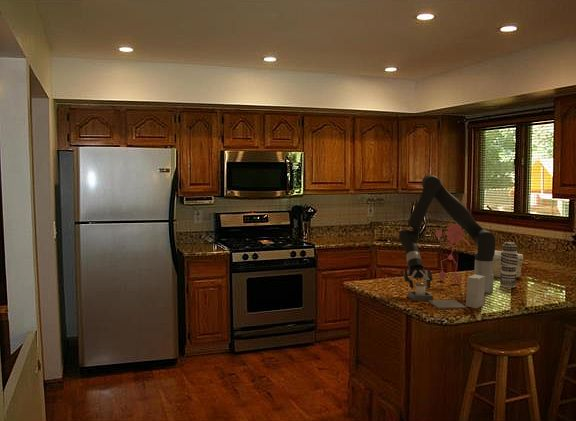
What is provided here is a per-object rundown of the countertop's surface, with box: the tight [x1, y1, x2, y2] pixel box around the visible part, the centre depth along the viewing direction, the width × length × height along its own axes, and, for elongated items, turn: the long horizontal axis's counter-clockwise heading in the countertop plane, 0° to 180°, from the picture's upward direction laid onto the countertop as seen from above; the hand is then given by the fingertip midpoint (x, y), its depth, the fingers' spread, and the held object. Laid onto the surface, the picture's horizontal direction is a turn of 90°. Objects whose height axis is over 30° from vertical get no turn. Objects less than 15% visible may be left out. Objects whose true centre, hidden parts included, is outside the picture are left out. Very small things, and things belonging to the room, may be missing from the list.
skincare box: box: [465, 273, 485, 309], centre depth 261 cm, size 8×6×15 cm
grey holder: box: [407, 290, 434, 302], centre depth 276 cm, size 10×10×2 cm
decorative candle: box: [499, 241, 518, 288], centre depth 308 cm, size 9×9×25 cm
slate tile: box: [427, 299, 467, 310], centre depth 264 cm, size 14×14×1 cm
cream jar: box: [414, 281, 427, 296], centre depth 276 cm, size 5×5×8 cm
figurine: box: [435, 222, 472, 285], centre depth 316 cm, size 15×26×35 cm, turn 34°
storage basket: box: [492, 249, 524, 279], centre depth 338 cm, size 24×16×15 cm
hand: (420, 287), depth 275 cm, fingers open, 8 cm apart
